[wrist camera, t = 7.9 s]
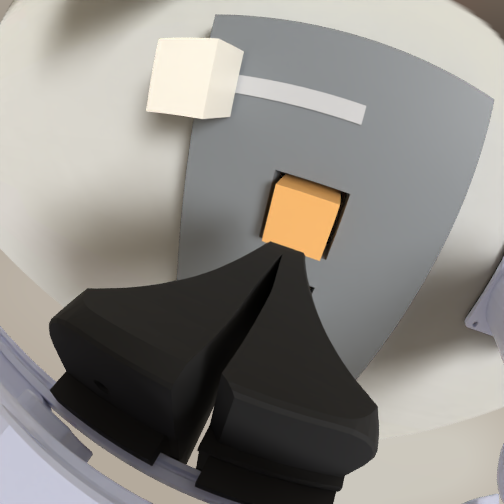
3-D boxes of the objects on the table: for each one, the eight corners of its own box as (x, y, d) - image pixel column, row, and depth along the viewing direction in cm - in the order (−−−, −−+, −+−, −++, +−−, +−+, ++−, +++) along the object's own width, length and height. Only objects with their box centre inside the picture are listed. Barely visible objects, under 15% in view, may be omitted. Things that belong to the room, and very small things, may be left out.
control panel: (479, 99, 10) (503, 99, 7) (351, 369, 21) (348, 397, 19) (229, 23, 12) (207, 9, 10) (186, 309, 24) (169, 331, 21)
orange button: (341, 191, 15) (339, 204, 13) (324, 240, 17) (319, 260, 14) (286, 173, 15) (275, 183, 13) (273, 223, 17) (261, 240, 15)
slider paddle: (244, 51, 11) (218, 38, 9) (230, 116, 13) (202, 118, 11) (191, 47, 12) (158, 38, 9) (180, 108, 14) (146, 111, 11)
